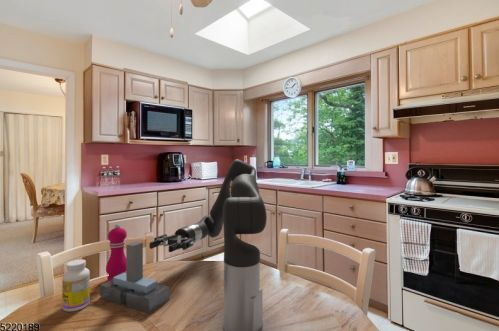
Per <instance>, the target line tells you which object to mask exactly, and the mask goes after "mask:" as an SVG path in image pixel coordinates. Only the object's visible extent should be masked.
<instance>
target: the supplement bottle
mask: <svg viewBox="0 0 499 331" xmlns="http://www.w3.org/2000/svg"><path fill="white" fill-rule="evenodd" d="M86 266H87V262H86V259H74V260H72V261H69V262H67V263H66V270H67V271H65V272H64V273H63V274H62V279H61V281H62V290H61V292H62V296H61V297H62V299H61V301H62V302H61V304H62V310H63V311H64V312H76V311H80V310H82V309H85V308H86V307H87V306H88V305H89V304H90V301H91V299H90V298H91V297H90V295H91V286H90V285H91V284H90V283H91V282H90V281H91V280H90V278H91V277H90V276H91V274H90V272H91V270H89V269H88V268H87V267H86Z"/></svg>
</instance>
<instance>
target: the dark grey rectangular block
mask: <svg viewBox="0 0 499 331" xmlns="http://www.w3.org/2000/svg"><path fill="white" fill-rule="evenodd" d="M99 289H100V291H99V292H100V293H99V295H100V296H99V297H100V299H103V300H105V301H108V302H112V303H116V304H119V305H121V306H126V307H129V308H131V309H134V310H137V311H142V312H144V313H148V314H151V313H152V312H154V311H156V309H158V308H159V307H160V306H162V305H164V304H165V303H166V302H168V301H169V300H170V286H169V285H165V284H160V283H157V288H155V289H153V290H152V291H150V292H148V293H142V294H141V293H137V292H134V290H133V289H129V288H125V289H123V288H119V287H118V285H115V284H113V279H112V280H110V281H105V282H103V283H101V284H100V285H99Z"/></svg>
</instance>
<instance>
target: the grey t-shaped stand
mask: <svg viewBox="0 0 499 331" xmlns="http://www.w3.org/2000/svg"><path fill="white" fill-rule="evenodd" d="M125 245H126V248H125V249H126V250H125V251H126V255H125V256H126V273H122V274H120V275H117V276H115V277H113V284H115V285H118V287H119V288H123V289H125V288H129V289H133V290H134V292H137V293H141V294H142V293H148V292H150V291H152V290H153V289H155V288H157V284H158V283H157V282H158V281H157V280H154V279H152V278H148V277H143V276H144V272H143V271H144V266H143V264H144V260H143V258H144V244H143V242H141V241H136V240H135V241H132V242H130V243H127V244H125Z"/></svg>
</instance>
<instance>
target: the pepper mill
mask: <svg viewBox="0 0 499 331" xmlns="http://www.w3.org/2000/svg"><path fill="white" fill-rule="evenodd" d="M127 236H128V235H127V231H126V229H124V228H123V227H121V225H120V223H116V224H114V228H112V229H111V230H109V231H108V234H107V239H108V241H109V248H110V255H109V258H108V260H107V263H106V266H105V271H106V274H107V278H106V279H107V280H106V282H108V281H110V280H112V279H113V277H115V276H117V275H120V274H122V273H126V255H125V245H126V241H125V239H126V238H127ZM108 275H109V276H108Z"/></svg>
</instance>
